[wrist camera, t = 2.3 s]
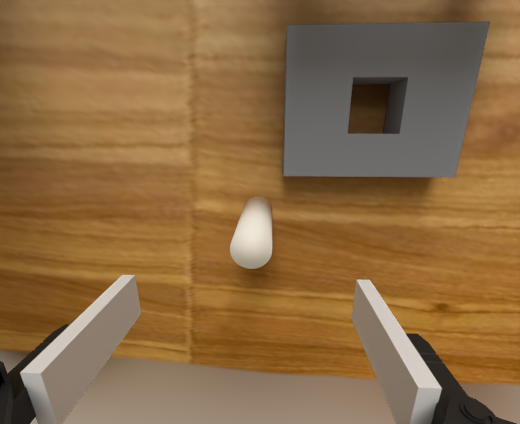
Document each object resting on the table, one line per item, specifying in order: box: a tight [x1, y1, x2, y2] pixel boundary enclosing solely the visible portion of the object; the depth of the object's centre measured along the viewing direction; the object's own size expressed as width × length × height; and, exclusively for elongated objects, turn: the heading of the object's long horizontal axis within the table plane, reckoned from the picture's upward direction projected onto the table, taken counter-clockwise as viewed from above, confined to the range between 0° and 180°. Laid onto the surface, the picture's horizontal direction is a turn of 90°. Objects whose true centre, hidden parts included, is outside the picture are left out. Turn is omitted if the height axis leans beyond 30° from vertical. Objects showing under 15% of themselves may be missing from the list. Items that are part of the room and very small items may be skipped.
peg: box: [230, 196, 272, 269], centre depth 28 cm, size 4×4×12 cm
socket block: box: [282, 22, 490, 177], centre depth 27 cm, size 18×14×4 cm
